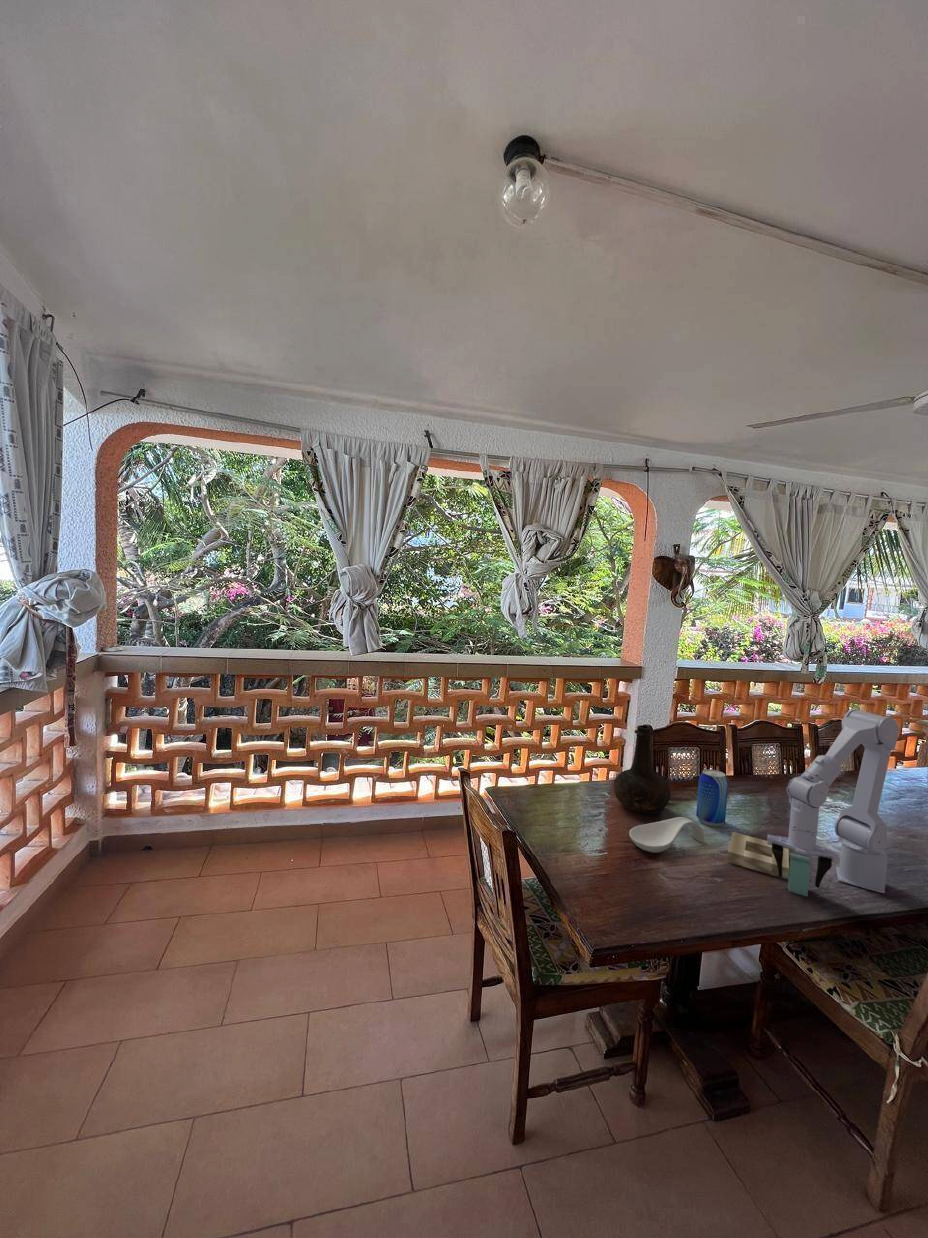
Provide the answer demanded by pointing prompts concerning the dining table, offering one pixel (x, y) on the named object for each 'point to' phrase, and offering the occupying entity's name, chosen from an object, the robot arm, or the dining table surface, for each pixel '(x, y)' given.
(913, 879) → the dining table surface
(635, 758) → the glass bottle
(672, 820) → the spoon rest
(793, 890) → the teal block
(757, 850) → the board
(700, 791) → the beer can
